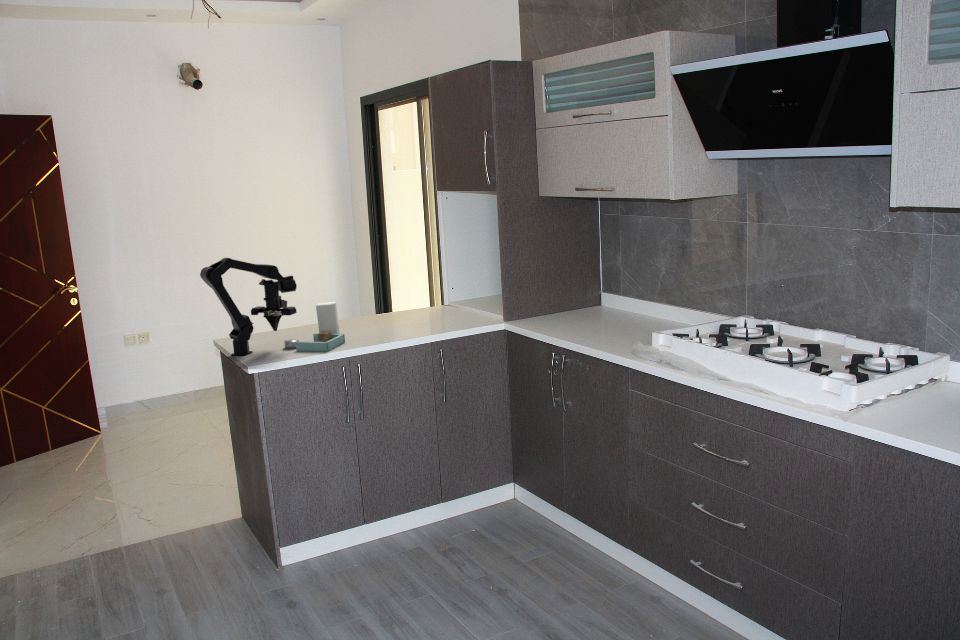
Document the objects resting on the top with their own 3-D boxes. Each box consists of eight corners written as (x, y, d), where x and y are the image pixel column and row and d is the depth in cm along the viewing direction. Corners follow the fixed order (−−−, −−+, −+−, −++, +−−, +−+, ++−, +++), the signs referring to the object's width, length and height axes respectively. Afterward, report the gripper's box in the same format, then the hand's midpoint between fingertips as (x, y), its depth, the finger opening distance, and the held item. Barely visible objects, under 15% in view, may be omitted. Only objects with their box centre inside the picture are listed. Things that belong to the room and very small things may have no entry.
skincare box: (340, 335, 356) (337, 301, 353) (338, 338, 349) (335, 303, 346) (321, 336, 355) (318, 302, 352) (318, 339, 349) (315, 304, 346)
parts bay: (327, 351, 326) (326, 342, 326) (296, 350, 330) (295, 342, 330) (345, 342, 342) (344, 334, 341) (315, 341, 346) (314, 333, 345)
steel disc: (294, 349, 333) (294, 342, 332) (282, 349, 335) (281, 342, 334) (301, 346, 339) (301, 339, 338) (289, 346, 340) (288, 339, 340)
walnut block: (331, 343, 341) (330, 331, 340) (327, 345, 338) (326, 333, 337) (323, 343, 342) (322, 331, 341) (318, 345, 339) (317, 333, 338)
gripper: (301, 291, 339) (304, 327, 342) (262, 291, 344) (266, 326, 347) (288, 295, 329) (291, 332, 332) (248, 295, 334) (252, 332, 337)
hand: (275, 330), depth 337 cm, fingers closed
